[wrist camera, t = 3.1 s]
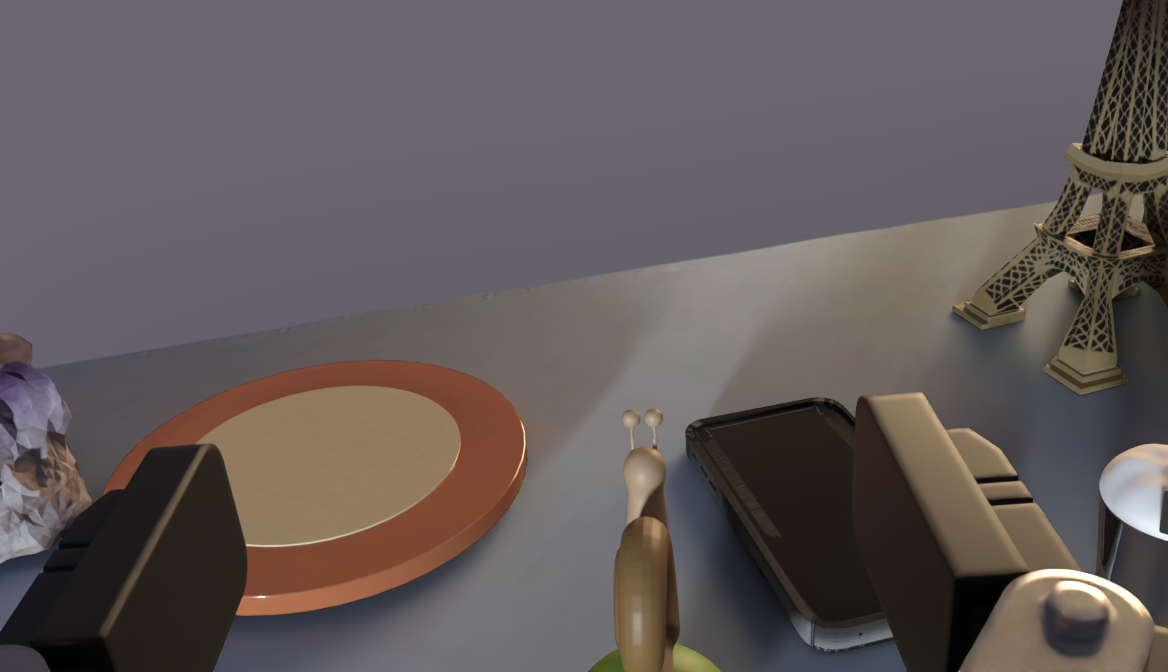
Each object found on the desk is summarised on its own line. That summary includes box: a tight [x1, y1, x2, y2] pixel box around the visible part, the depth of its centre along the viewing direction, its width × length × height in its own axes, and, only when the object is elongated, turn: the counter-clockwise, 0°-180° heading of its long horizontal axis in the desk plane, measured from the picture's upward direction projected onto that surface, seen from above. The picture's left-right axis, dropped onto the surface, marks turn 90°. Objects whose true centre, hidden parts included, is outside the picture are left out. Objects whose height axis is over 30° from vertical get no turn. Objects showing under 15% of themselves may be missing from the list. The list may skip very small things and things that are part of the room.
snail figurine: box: [588, 409, 721, 672], centre depth 32 cm, size 5×6×12 cm
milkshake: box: [1095, 444, 1168, 628], centre depth 34 cm, size 4×5×10 cm
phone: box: [685, 397, 894, 653], centre depth 46 cm, size 8×1×15 cm
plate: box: [103, 360, 528, 616], centre depth 50 cm, size 19×19×2 cm
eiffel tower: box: [952, 0, 1168, 395], centre depth 54 cm, size 11×11×25 cm
